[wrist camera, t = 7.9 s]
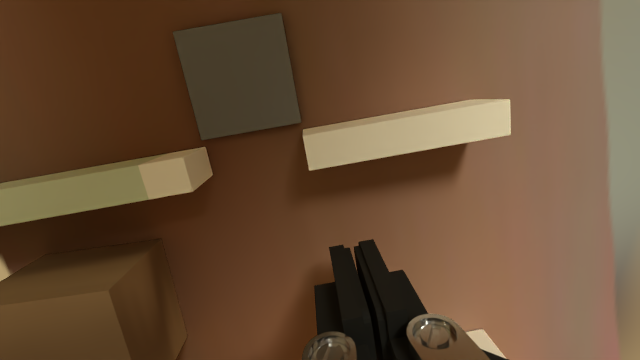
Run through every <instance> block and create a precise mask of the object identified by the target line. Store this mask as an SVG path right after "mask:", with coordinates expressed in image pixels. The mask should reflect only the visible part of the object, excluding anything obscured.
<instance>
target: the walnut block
mask: <svg viewBox="0 0 640 360" xmlns="http://www.w3.org/2000/svg"><path fill="white" fill-rule="evenodd" d="M187 336H188V335H187V331H186V328H185V324H184V320H183V317H182V313H181V309H180V306H179V302H178V298H177V294H176V291H175V287H174V283H173V280H172V276H171V272H170V269H169V265H168V261H167V258H166V254H165V250H164V247H163V243H162V239H156V240H149V241H141V242H134V243H127V244H120V245H112V246H105V247H98V248H91V249H83V250H76V251H69V252H62V253H54V254H47V255H44V256H42V257H41V258H39V259H37V260H36V261H34V262H32V263H31V264H29V265H27V266H26V267H24V268H22V269H21V270H19V271H17V272H16V273H14V274H12V275H11V276H9V277H7V278H6V279H4V280H2V281H1V282H0V360H176V358H177V356H178V354H179V352H180V350H181V348H182V346H183V344H184V342H185V340H186V338H187Z"/></svg>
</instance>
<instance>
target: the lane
mask: <svg viewBox="0 0 640 360" xmlns="http://www.w3.org/2000/svg"><path fill="white" fill-rule="evenodd" d="M507 135H511V123H510V99H471V100H465V101H460V102H454V103H448V104H443V105H437V106H432V107H426V108H420V109H415V110H409V111H403V112H398V113H392V114H387V115H381V116H375V117H370V118H364V119H358V120H353V121H347V122H342V123H336V124H330V125H325V126H319V127H313V128H308V129H303V140H304V146H305V151H306V157H307V162H308V167H309V171H311V170H317V169H322V168H328V167H334V166H339V165H345V164H350V163H356V162H362V161H367V160H373V159H378V158H384V157H389V156H395V155H401V154H406V153H412V152H417V151H423V150H429V149H434V148H440V147H445V146H451V145H456V144H462V143H468V142H473V141H479V140H484V139H490V138H496V137H501V136H507ZM212 175H213V173H212V169H211V165H210V162H209V158H208V154H207V150H206V147H201V148H195V149H190V150H184V151H179V152H173V153H167V154H162V155H156V156H150V157H145V158H139V159H134V160H128V161H122V162H117V163H111V164H105V165H100V166H94V167H89V168H83V169H77V170H72V171H66V172H60V173H55V174H49V175H44V176H38V177H32V178H27V179H21V180H15V181H10V182H4V183H0V226H4V225H10V224H15V223H21V222H27V221H32V220H38V219H43V218H49V217H55V216H60V215H66V214H71V213H77V212H82V211H88V210H94V209H99V208H105V207H110V206H116V205H122V204H127V203H133V202H138V201H144V200H149V199H155V198H161V197H166V196H172V195H177V194H183V193H189V192H193V191H194V190H196V189H197V188H198V187H199V186H200V185H202V184H203V183H204V182H205V181H206V180H208V179H209V178H210V177H211V176H212ZM466 333H467V335H468V336H469V337H470V338H471V339H472V340H473V341H474V342H475V343H476V344H477V345H478V347H479V348H480V349H483V350H485V351H488V352H490V353H493V354H495V355H498V356H500V357H503V358H505V356H504V355H503V354H502V353H501V351H500V350H499V349H498V348H497V346H496V345H495V344H494V343H493V341H492V340H491V339H490V337H489V336H488V335H487V334H486V332H485V331H484V330H483V329H480V330H475V331H469V332H466ZM505 359H506V358H505Z"/></svg>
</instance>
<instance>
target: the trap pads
mask: <svg viewBox="0 0 640 360" xmlns="http://www.w3.org/2000/svg"><path fill="white" fill-rule="evenodd" d="M173 35H174V39H175V43H176V46H177V50H178V54H179V58H180V62H181V65H182V69H183V73H184V77H185V80H186V84H187V88H188V92H189V96H190V99H191V103H192V107H193V111H194V114H195V118H196V122H197V126H198V129H199V133H200V137H201V140H206V139H211V138H217V137H223V136H228V135H234V134H240V133H245V132H251V131H256V130H262V129H268V128H273V127H279V126H285V125H290V124H296V123H301V117H300V112H299V106H298V101H297V96H296V90H295V85H294V79H293V74H292V68H291V63H290V57H289V52H288V47H287V41H286V36H285V30H284V25H283V19H282V14H281V13H277V14H271V15H266V16H260V17H254V18H248V19H243V20H237V21H231V22H225V23H220V24H214V25H208V26H203V27H197V28H191V29H185V30H180V31H174V32H173Z"/></svg>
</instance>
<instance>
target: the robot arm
mask: <svg viewBox="0 0 640 360" xmlns="http://www.w3.org/2000/svg"><path fill="white" fill-rule="evenodd" d="M329 249H330V255H331V261H332V266H333V272H334V278H335V282H332V283H327V284H321V285H315V286H314V289H315V304H316V320H317V336H315V337H314V338H313V339H311V340H310V341H309V342H308V344H307V345H306V346H305V349H304V351H303V355H302V360H508V359H505V358H503V357H500V356H498V355H495V354H493V353H490V352H488V351H485V350H483V349H480V348H479V347H478V345H477V344H476V343H475V342H474V341H473V340H472V339H471V338H470V337H469V336H468V335H467V333H466V332H465V331H464V330H463V329H462V328H461V327H460V326H459V325H458V324H457V323H456V322H454V321H453V320H452V319H450V318H448V317H446V316H442V315H438V314H428V313H427V311H426V309H425V307H424V306H423V304H422V302H421V300H420V299H419V297H418V295H417V293H416V292H415V290H414V288H413V286H412V285H411V283H410V281H409V279H408V278H407V276H406V274H405V272H404V271H403V270H398V271H393V272H389V271H388V269H387V267H386V265H385V263H384V261H383V259H382V257H381V254H380V252H379V250H378V248H377V246H376V244H375V242H374V240H373V239H372V240H367V241H361V242H359V246H355V247H354V253H355V259H356V266H357V270H356V267H355V264H354V260H353V257H352V254H351V251H350V248H344V246H343V245H339V246H333V247H329ZM357 272H358V273H357Z"/></svg>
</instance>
